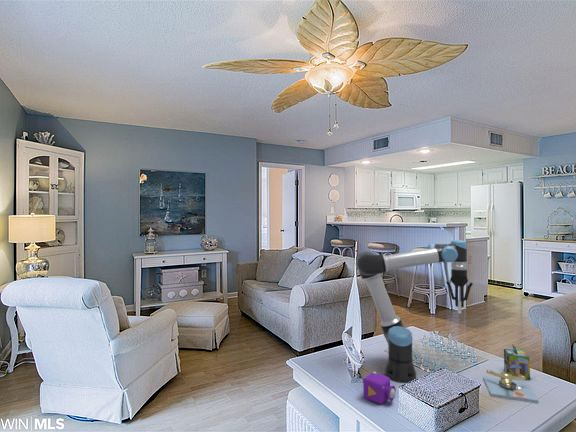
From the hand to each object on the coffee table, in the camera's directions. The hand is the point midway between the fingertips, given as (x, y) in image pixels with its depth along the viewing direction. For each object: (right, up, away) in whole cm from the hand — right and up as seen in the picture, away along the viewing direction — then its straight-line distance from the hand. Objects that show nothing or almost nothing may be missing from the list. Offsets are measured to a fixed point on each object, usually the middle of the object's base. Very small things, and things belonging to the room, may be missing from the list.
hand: (459, 312), depth 181 cm
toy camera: (-51, -30, -30) cm, 67 cm away
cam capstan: (+10, -28, -23) cm, 37 cm away
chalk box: (+25, -29, -9) cm, 39 cm away
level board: (+11, -29, -24) cm, 39 cm away
